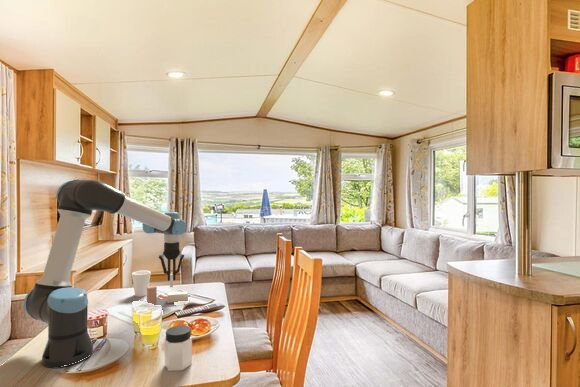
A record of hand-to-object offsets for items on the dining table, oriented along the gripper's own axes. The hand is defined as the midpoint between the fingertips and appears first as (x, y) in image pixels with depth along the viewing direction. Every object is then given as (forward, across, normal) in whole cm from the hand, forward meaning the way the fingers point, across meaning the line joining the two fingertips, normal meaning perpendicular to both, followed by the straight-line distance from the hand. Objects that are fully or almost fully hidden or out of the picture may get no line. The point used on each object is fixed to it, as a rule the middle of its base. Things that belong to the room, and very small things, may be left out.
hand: (171, 286), depth 175 cm
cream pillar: (+6, +2, 0) cm, 6 cm away
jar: (+9, -7, +65) cm, 66 cm away
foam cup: (+9, +17, -15) cm, 24 cm away
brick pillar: (+8, +9, +6) cm, 13 cm away
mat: (+8, +2, 0) cm, 9 cm away
